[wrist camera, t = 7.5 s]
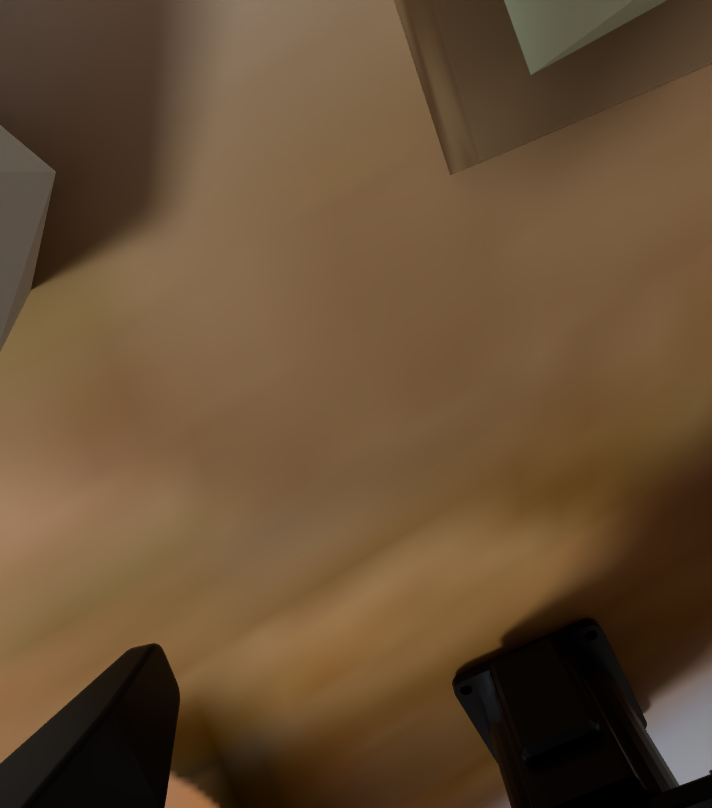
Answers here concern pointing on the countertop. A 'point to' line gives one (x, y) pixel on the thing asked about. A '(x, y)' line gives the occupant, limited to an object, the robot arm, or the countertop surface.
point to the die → (20, 223)
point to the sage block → (567, 25)
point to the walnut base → (546, 89)
